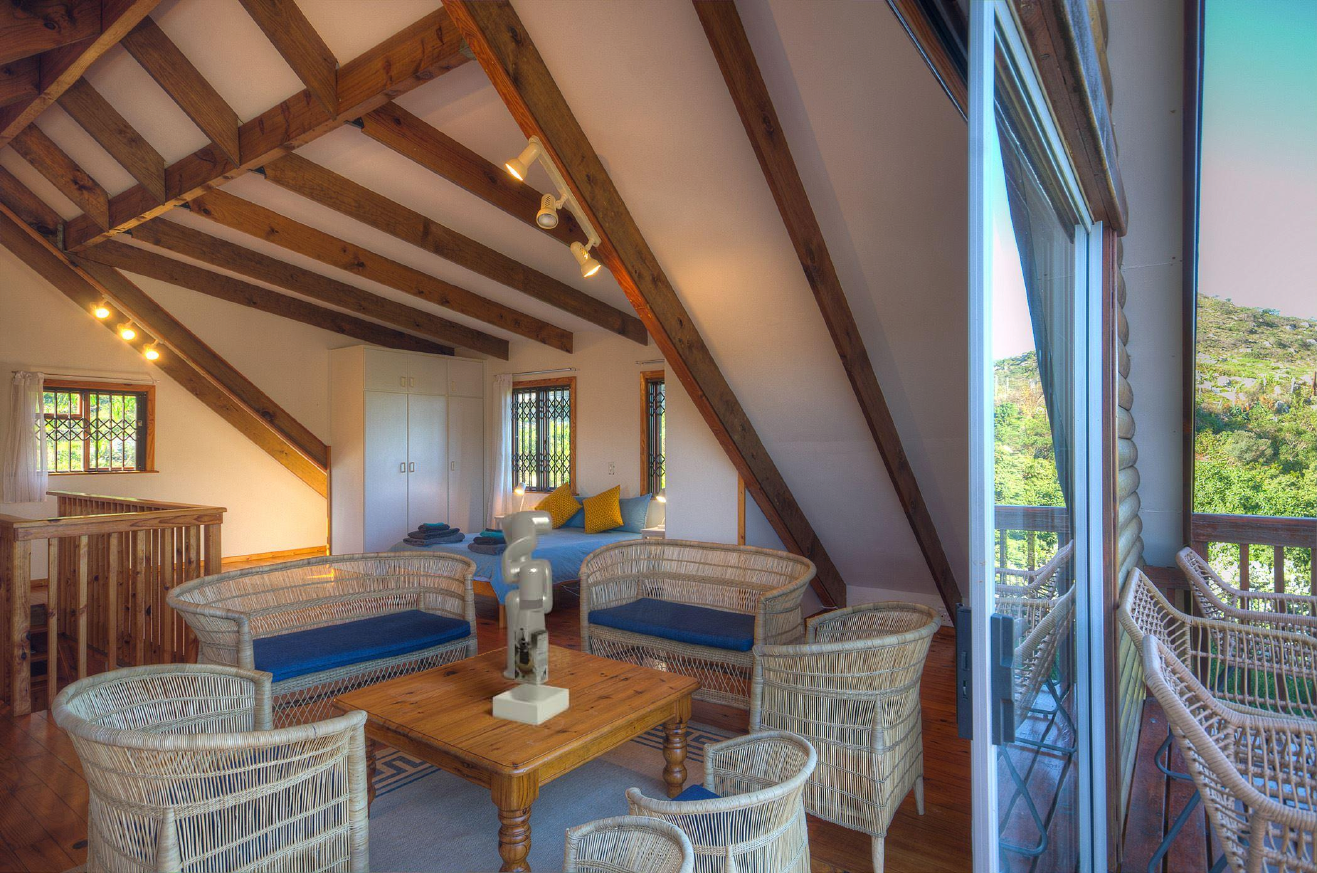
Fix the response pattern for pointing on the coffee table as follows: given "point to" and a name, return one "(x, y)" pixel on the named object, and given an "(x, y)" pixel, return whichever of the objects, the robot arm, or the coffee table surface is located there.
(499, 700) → the bin
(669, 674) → the coffee table surface
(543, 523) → the robot arm
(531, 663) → the coffee box
